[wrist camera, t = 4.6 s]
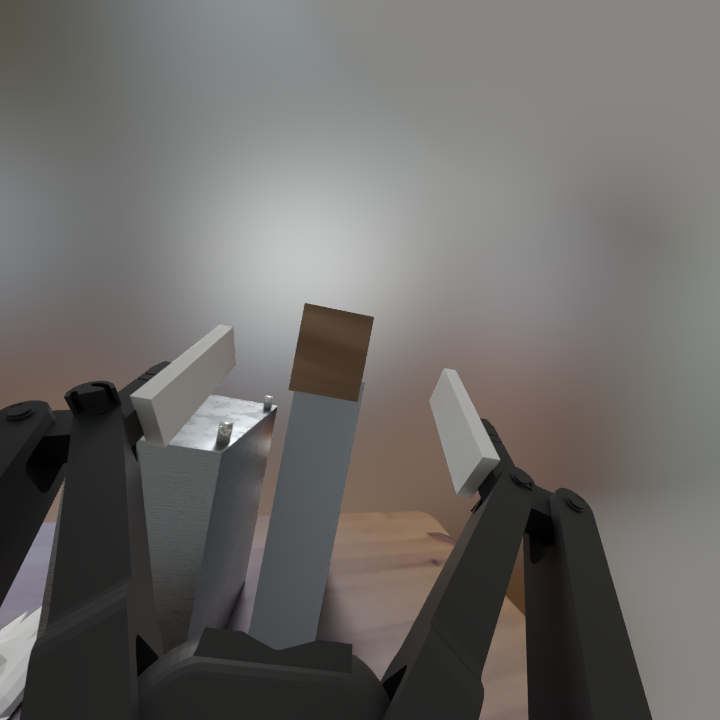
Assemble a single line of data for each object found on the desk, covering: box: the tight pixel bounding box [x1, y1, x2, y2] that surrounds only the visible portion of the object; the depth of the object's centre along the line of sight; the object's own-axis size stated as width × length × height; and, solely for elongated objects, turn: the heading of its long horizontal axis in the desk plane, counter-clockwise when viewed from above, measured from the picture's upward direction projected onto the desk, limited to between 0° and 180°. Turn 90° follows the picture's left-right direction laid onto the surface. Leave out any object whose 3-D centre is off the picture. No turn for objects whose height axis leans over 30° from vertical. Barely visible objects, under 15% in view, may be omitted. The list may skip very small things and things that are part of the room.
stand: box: [248, 380, 365, 650], centre depth 34 cm, size 7×14×30 cm, turn 4°
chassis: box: [36, 395, 278, 655], centre depth 26 cm, size 10×16×26 cm, turn 4°
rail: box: [289, 303, 374, 402], centre depth 29 cm, size 28×4×5 cm, turn 4°
